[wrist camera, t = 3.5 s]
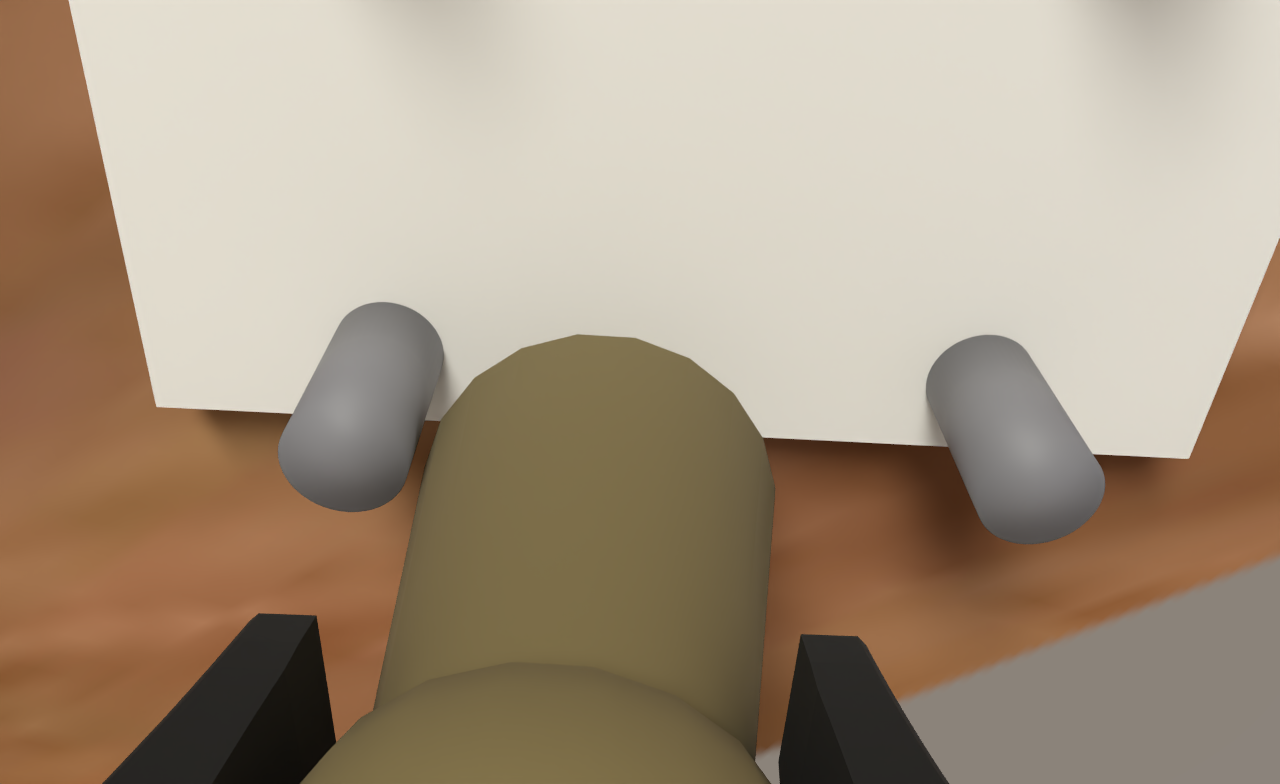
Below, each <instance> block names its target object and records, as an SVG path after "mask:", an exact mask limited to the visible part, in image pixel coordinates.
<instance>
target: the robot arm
mask: <svg viewBox="0 0 1280 784" xmlns="http://www.w3.org/2000/svg"><path fill="white" fill-rule="evenodd" d="M335 743H336V739H335V732H334V726H333V719H332V713H331V707H330V700H329V694H328V687H327V681H326V674H325V668H324V661H323V655H322V648H321V642H320V636H319V629H318V623H317V616H312V615H286V614H260V613H259V614H258V615H256V616H255V617H254V618H253V619H252V620H250V621H249V622H248V624H247V625H246V626H245V627H244V628H243V629H242V631H241V632H240V633H239V634H238V635H237V636H236V637H235V639H234V640H233V641H232V642H231V643H230V644H229V646H228V647H227V648H226V649H225V650H224V651H223V652H222V654H221V655H220V656H219V657H218V658H217V659H216V661H215V662H214V663H213V664H212V665H211V666H210V667H209V669H208V670H207V671H206V672H205V673H204V674H203V675H202V677H201V678H200V679H199V680H198V681H197V682H196V683H195V684H194V686H193V687H192V688H191V689H190V690H189V691H188V692H187V693H186V694H185V696H184V697H183V698H182V699H181V700H180V701H179V702H178V703H177V704H176V706H175V707H174V708H173V709H172V710H171V711H170V712H169V713H168V714H167V716H166V717H165V718H164V719H163V720H162V721H161V722H160V723H159V724H158V725H157V726H156V727H155V728H154V730H153V731H152V732H151V733H150V734H149V735H148V736H147V737H146V738H145V739H144V740H143V741H142V742H141V743H140V744H139V745H138V747H137V748H136V749H135V750H134V751H133V752H132V753H131V754H130V755H129V756H128V757H127V758H126V759H125V760H124V761H123V762H122V763H121V765H120V766H119V767H118V768H117V769H116V770H115V771H114V772H113V773H112V774H111V775H110V776H109V777H108V778H107V779H106V780H105V781H104V782H103V783H102V784H300V783H301V782H302V781H303V779H304V778H305V777H306V776H307V775H308V774H309V773H310V771H311V770H312V769H313V768H314V767H315V766H316V764H317V763H318V762H319V761H320V760H321V759H322V758H323V756H324V755H325V754H326V753H327V752H328V751H329V750H330V749H331V748H332V747H333V746H334V745H335ZM779 776H780V784H949V783H948V781H947V780H946V778H945V777H944V775H943V774H942V772H941V771H940V769H939V768H938V766H937V765H936V763H935V762H934V760H933V758H932V757H931V755H930V754H929V752H928V751H927V749H926V748H925V746H924V744H923V743H922V741H921V740H920V738H919V736H918V735H917V733H916V731H915V730H914V728H913V726H912V725H911V723H910V721H909V720H908V718H907V717H906V715H905V713H904V712H903V710H902V708H901V707H900V705H899V703H898V701H897V700H896V698H895V696H894V695H893V693H892V691H891V689H890V688H889V686H888V684H887V682H886V681H885V679H884V677H883V675H882V674H881V672H880V670H879V668H878V666H877V665H876V663H875V661H874V659H873V657H872V655H871V654H870V652H869V650H868V648H867V646H866V645H865V644H864V643H863V641H862V640H861V639H860V638H859V637H858V636H832V635H806V634H801V637H800V643H799V648H798V654H797V660H796V665H795V671H794V677H793V682H792V688H791V694H790V699H789V705H788V711H787V716H786V722H785V728H784V734H783V739H782V745H781V751H780V756H779Z"/></svg>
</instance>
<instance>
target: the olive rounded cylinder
mask: <svg viewBox="0 0 1280 784" xmlns="http://www.w3.org/2000/svg"><path fill="white" fill-rule="evenodd" d="M774 500H775V485H774V481H773V477H772V472H771V468H770V464H769V460H768V456H767V452H766V448H765V444H764V440H763V437H762V436H761V434H760V433H759V431H758V430H757V428H756V426H755V425H754V423H753V422H752V420H751V419H750V417H749V416H748V414H747V413H746V411H745V410H744V408H743V407H742V405H741V403H740V402H739V400H738V399H737V397H736V396H735V394H734V393H733V392H732V391H730V390H729V389H728V388H727V387H725V386H724V385H723V384H722V383H720V382H719V381H718V380H717V379H715V378H714V377H713V376H712V375H710V374H709V373H708V372H706V371H705V370H704V369H703V368H701V367H700V366H699V365H698V364H696V363H695V362H694V361H693V360H691V359H690V358H688V357H685V356H682V355H680V354H677V353H675V352H672V351H669V350H667V349H664V348H661V347H659V346H656V345H653V344H651V343H648V342H645V341H643V340H640V339H638V338H631V337H615V336H598V335H581V334H576V335H572V336H568V337H564V338H560V339H556V340H552V341H548V342H544V343H540V344H536V345H532V346H528V347H524V348H521V349H519V350H518V351H516V352H515V353H513V354H511V355H510V356H508V357H507V358H505V359H503V360H502V361H500V362H499V363H497V364H495V365H494V366H492V367H491V368H489V369H488V370H486V371H484V372H483V373H481V374H480V375H478V376H476V377H475V378H474V379H473V380H472V381H471V383H470V384H469V385H468V386H467V388H466V389H465V390H464V391H463V393H462V394H461V395H460V396H459V398H458V399H457V400H456V401H455V403H454V404H453V405H452V406H451V408H450V409H449V410H448V411H447V412H446V414H445V415H444V416H443V417H442V419H441V421H440V424H439V427H438V430H437V433H436V436H435V439H434V442H433V444H432V447H431V450H430V453H429V456H428V459H427V462H426V465H425V468H424V473H423V477H422V482H421V487H420V492H419V496H418V501H417V506H416V510H415V515H414V520H413V525H412V529H411V534H410V539H409V543H408V548H407V553H406V558H405V562H404V567H403V572H402V576H401V581H400V586H399V591H398V595H397V600H396V605H395V609H394V614H393V619H392V624H391V628H390V633H389V638H388V642H387V647H386V652H385V657H384V661H383V666H382V671H381V675H380V680H379V685H378V690H377V694H376V699H375V704H374V708H373V711H372V712H370V713H368V714H366V715H364V716H363V717H361V718H360V719H359V720H358V721H357V722H356V723H355V724H354V725H353V726H352V727H351V728H350V729H349V730H348V731H347V732H346V733H345V734H344V735H343V736H342V737H341V738H340V739H339V740H338V741H337V742H336V743H335V745H334V746H333V747H332V748H331V749H330V750H329V751H328V752H327V753H326V754H325V755H324V756H323V758H322V759H321V760H320V761H319V762H318V763H317V764H316V766H315V767H314V768H313V769H312V770H311V771H310V773H309V774H308V775H307V776H306V777H305V778H304V779H303V781H302V782H301V783H300V784H771V783H770V782H769V780H768V779H767V778H766V776H765V775H764V773H763V772H762V771H761V769H760V768H759V767H758V765H757V764H756V762H755V756H756V742H757V729H758V715H759V702H760V688H761V675H762V661H763V648H764V635H765V621H766V608H767V594H768V581H769V567H770V554H771V540H772V527H773V513H774Z"/></svg>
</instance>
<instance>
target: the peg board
mask: <svg viewBox="0 0 1280 784" xmlns="http://www.w3.org/2000/svg"><path fill="white" fill-rule="evenodd" d="M69 4H70V9H71V13H72V18H73V23H74V27H75V32H76V36H77V41H78V46H79V50H80V55H81V60H82V64H83V69H84V74H85V78H86V83H87V87H88V92H89V97H90V101H91V106H92V111H93V115H94V120H95V124H96V129H97V134H98V138H99V143H100V148H101V152H102V157H103V161H104V166H105V171H106V175H107V180H108V185H109V189H110V194H111V199H112V203H113V208H114V212H115V217H116V222H117V226H118V231H119V236H120V240H121V245H122V249H123V254H124V259H125V263H126V268H127V273H128V277H129V282H130V287H131V291H132V296H133V300H134V305H135V310H136V314H137V319H138V324H139V328H140V333H141V337H142V342H143V347H144V351H145V356H146V361H147V365H148V370H149V375H150V379H151V384H152V388H153V393H154V398H155V402H156V407H171V408H191V409H211V410H230V411H250V412H270V413H290V414H292V416H291V418H290V420H289V422H288V424H287V426H286V428H285V429H284V431H283V433H282V436H281V438H280V441H279V446H278V458H279V463H280V466H281V469H282V471H283V473H284V475H285V477H286V478H287V480H288V481H289V483H290V484H291V485H292V486H293V487H294V488H295V489H296V490H297V491H298V492H299V493H300V494H302V495H303V496H304V497H306V498H307V499H309V500H310V501H312V502H314V503H316V504H318V505H321V506H323V507H326V508H329V509H333V510H338V511H345V512H360V511H367V510H372V509H375V508H378V507H380V506H382V505H384V504H386V503H388V502H389V501H390V500H392V499H393V498H394V497H395V496H396V495H397V494H398V493H399V492H400V490H401V489H402V487H403V485H404V483H405V481H406V478H407V475H408V472H409V469H410V465H411V462H412V459H413V456H414V453H415V450H416V447H417V444H418V440H419V437H420V434H421V431H422V428H423V425H424V422H425V420H429V421H441V419H442V417H443V416H444V415H445V414H446V412H447V411H448V410H449V409H450V408H451V406H452V405H453V404H454V403H455V401H456V400H457V399H458V398H459V396H460V395H461V394H462V393H463V391H464V390H465V389H466V388H467V386H468V385H469V384H470V383H471V381H472V380H473V379H474V378H475V377H476V376H478V375H480V374H481V373H483V372H484V371H486V370H488V369H489V368H491V367H492V366H494V365H495V364H497V363H499V362H500V361H502V360H503V359H505V358H507V357H508V356H510V355H511V354H513V353H515V352H516V351H518V350H519V349H521V348H524V347H528V346H532V345H536V344H540V343H544V342H548V341H552V340H556V339H560V338H564V337H568V336H572V335H576V334H581V335H598V336H615V337H631V338H638V339H640V340H643V341H645V342H648V343H651V344H653V345H656V346H659V347H661V348H664V349H667V350H669V351H672V352H675V353H677V354H680V355H682V356H685V357H688V358H690V359H691V360H693V361H694V362H695V363H696V364H698V365H699V366H700V367H701V368H703V369H704V370H705V371H706V372H708V373H709V374H710V375H712V376H713V377H714V378H715V379H717V380H718V381H719V382H720V383H722V384H723V385H724V386H725V387H727V388H728V389H729V390H730V391H732V392H733V393H734V394H735V396H736V397H737V399H738V400H739V402H740V403H741V405H742V407H743V408H744V410H745V411H746V413H747V414H748V416H749V417H750V419H751V420H752V422H753V423H754V425H755V426H756V428H757V430H758V431H759V433H760V434H761V436H762V437H765V438H785V439H805V440H825V441H845V442H865V443H884V444H904V445H924V446H944V447H949V450H950V452H951V454H952V456H953V459H954V461H955V463H956V466H957V468H958V470H959V472H960V475H961V477H962V479H963V481H964V484H965V486H966V488H967V491H968V493H969V495H970V497H971V500H972V502H973V504H974V506H975V509H976V511H977V513H978V516H979V518H980V520H981V522H982V523H983V525H984V526H985V527H986V528H987V529H988V530H989V531H990V532H991V533H992V534H994V535H995V536H997V537H999V538H1001V539H1003V540H1006V541H1009V542H1013V543H1019V544H1038V543H1044V542H1049V541H1052V540H1056V539H1059V538H1061V537H1063V536H1066V535H1068V534H1070V533H1071V532H1073V531H1075V530H1076V529H1078V528H1079V527H1080V526H1082V525H1083V524H1084V523H1085V522H1086V521H1087V520H1088V519H1089V518H1090V517H1091V516H1092V515H1093V514H1094V513H1095V511H1096V510H1097V508H1098V507H1099V505H1100V503H1101V501H1102V498H1103V495H1104V490H1105V478H1104V473H1103V471H1102V468H1101V466H1100V465H1099V463H1098V462H1097V460H1096V459H1095V457H1094V455H1093V454H1102V455H1122V456H1142V457H1162V458H1182V459H1189V457H1190V454H1191V452H1192V450H1193V447H1194V445H1195V442H1196V440H1197V437H1198V435H1199V433H1200V430H1201V428H1202V425H1203V423H1204V420H1205V418H1206V416H1207V413H1208V411H1209V408H1210V406H1211V403H1212V401H1213V398H1214V396H1215V394H1216V391H1217V389H1218V386H1219V384H1220V381H1221V379H1222V377H1223V374H1224V372H1225V369H1226V367H1227V364H1228V362H1229V360H1230V357H1231V355H1232V352H1233V350H1234V347H1235V345H1236V342H1237V340H1238V338H1239V335H1240V333H1241V330H1242V328H1243V325H1244V323H1245V321H1246V318H1247V316H1248V313H1249V311H1250V308H1251V306H1252V304H1253V301H1254V299H1255V296H1256V294H1257V291H1258V289H1259V286H1260V284H1261V282H1262V279H1263V277H1264V274H1265V272H1266V269H1267V267H1268V265H1269V262H1270V260H1271V257H1272V255H1273V252H1274V250H1275V247H1276V245H1277V243H1278V240H1279V238H1280V0H69Z"/></svg>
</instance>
